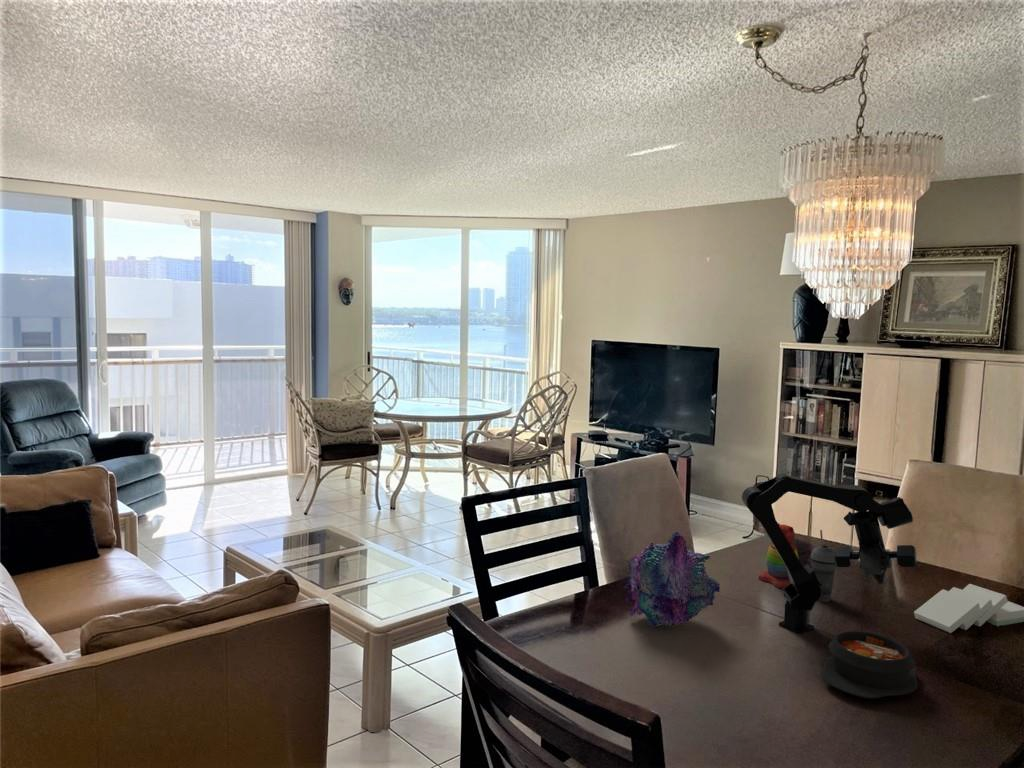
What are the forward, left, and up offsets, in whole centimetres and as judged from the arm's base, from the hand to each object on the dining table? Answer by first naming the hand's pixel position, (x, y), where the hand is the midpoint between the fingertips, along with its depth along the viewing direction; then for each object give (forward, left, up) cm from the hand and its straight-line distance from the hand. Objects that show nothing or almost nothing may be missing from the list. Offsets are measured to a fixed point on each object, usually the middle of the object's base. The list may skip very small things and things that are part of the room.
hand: (881, 582), depth 184 cm
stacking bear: (+6, +34, -12) cm, 37 cm away
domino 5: (+28, -12, -11) cm, 33 cm away
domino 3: (+23, -10, -10) cm, 27 cm away
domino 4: (+29, -12, -9) cm, 33 cm away
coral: (-47, +30, -12) cm, 57 cm away
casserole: (-32, -15, -12) cm, 37 cm away
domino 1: (+12, -8, -11) cm, 18 cm away
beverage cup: (+4, +19, -12) cm, 23 cm away
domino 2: (+17, -9, -10) cm, 22 cm away
